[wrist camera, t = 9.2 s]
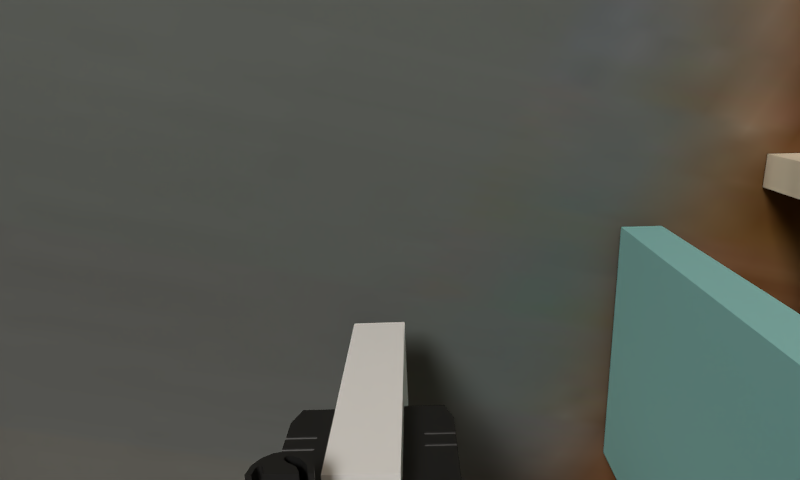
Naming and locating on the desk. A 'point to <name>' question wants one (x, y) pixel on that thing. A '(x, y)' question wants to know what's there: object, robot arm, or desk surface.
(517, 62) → the desk surface
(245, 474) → the robot arm
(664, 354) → the slider
